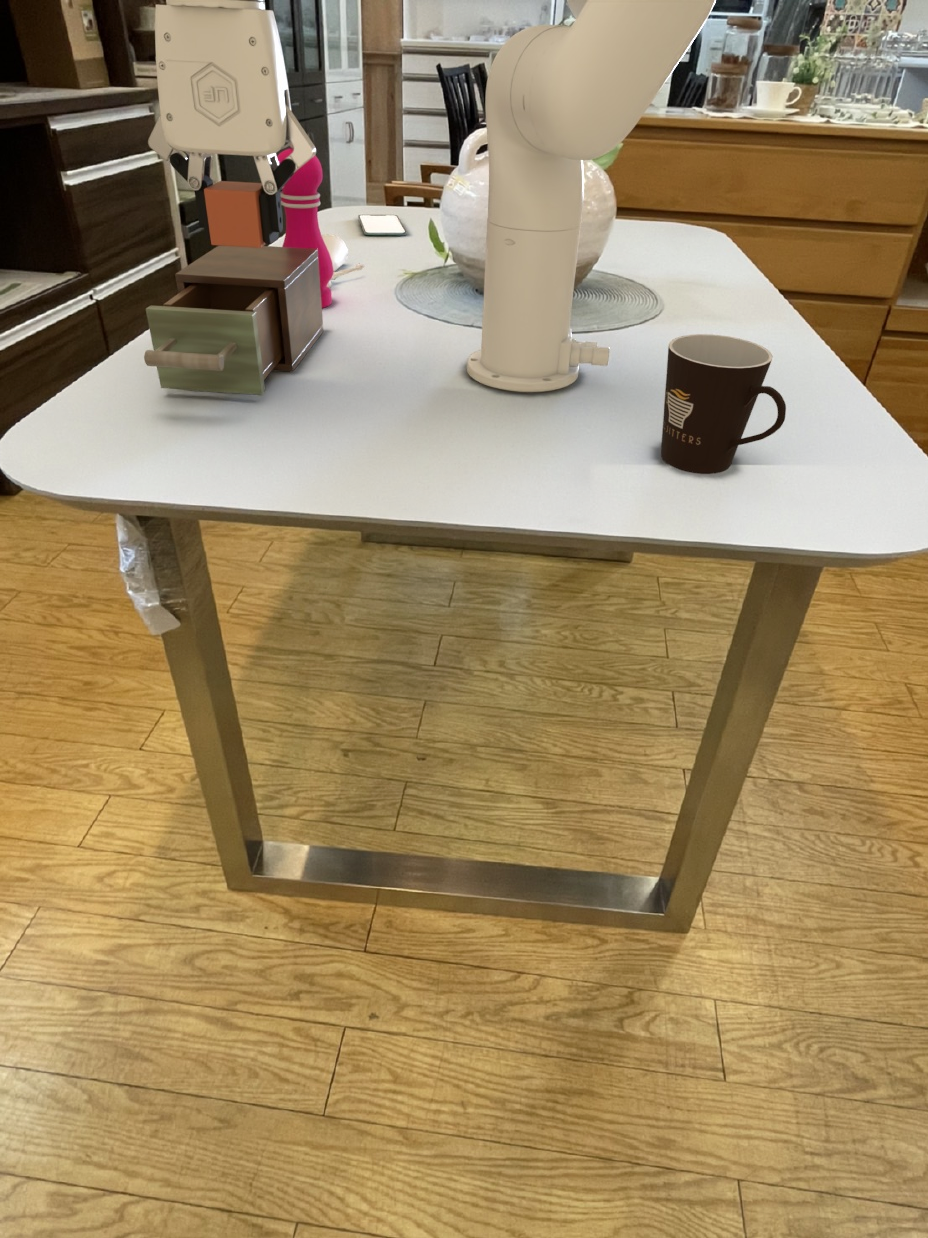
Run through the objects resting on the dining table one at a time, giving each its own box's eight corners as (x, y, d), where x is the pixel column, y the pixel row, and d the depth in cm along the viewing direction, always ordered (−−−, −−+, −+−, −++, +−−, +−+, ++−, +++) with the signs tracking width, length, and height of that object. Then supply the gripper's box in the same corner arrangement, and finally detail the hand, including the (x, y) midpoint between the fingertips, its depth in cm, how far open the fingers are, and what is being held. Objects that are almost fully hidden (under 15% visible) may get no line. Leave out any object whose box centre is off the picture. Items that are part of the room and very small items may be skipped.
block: (273, 237, 75) (268, 183, 72) (260, 248, 71) (255, 191, 69) (226, 234, 75) (219, 180, 72) (211, 245, 72) (203, 188, 69)
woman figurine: (365, 230, 127) (361, 267, 113) (366, 260, 129) (363, 299, 116) (291, 229, 126) (278, 265, 112) (294, 258, 129) (281, 297, 115)
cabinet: (292, 371, 88) (284, 280, 83) (190, 365, 89) (174, 273, 83) (323, 331, 100) (317, 248, 94) (232, 325, 101) (221, 243, 95)
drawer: (244, 417, 76) (232, 334, 71) (137, 409, 76) (119, 326, 72) (296, 351, 91) (290, 279, 87) (207, 345, 92) (195, 273, 87)
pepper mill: (325, 312, 106) (313, 138, 94) (273, 308, 107) (255, 134, 95) (342, 298, 112) (333, 132, 100) (293, 294, 113) (278, 128, 101)
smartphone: (407, 236, 146) (397, 217, 158) (407, 233, 145) (397, 214, 158) (364, 236, 144) (357, 217, 157) (364, 232, 144) (357, 214, 156)
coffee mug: (638, 438, 77) (656, 333, 71) (724, 438, 78) (750, 334, 72) (673, 496, 68) (698, 381, 62) (771, 495, 69) (804, 381, 63)
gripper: (85, -23, 60) (135, 242, 70) (310, -12, 59) (326, 253, 70) (126, -19, 66) (167, 225, 77) (331, -8, 65) (342, 236, 76)
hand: (242, 236), depth 73 cm, fingers closed on block, 4 cm apart
